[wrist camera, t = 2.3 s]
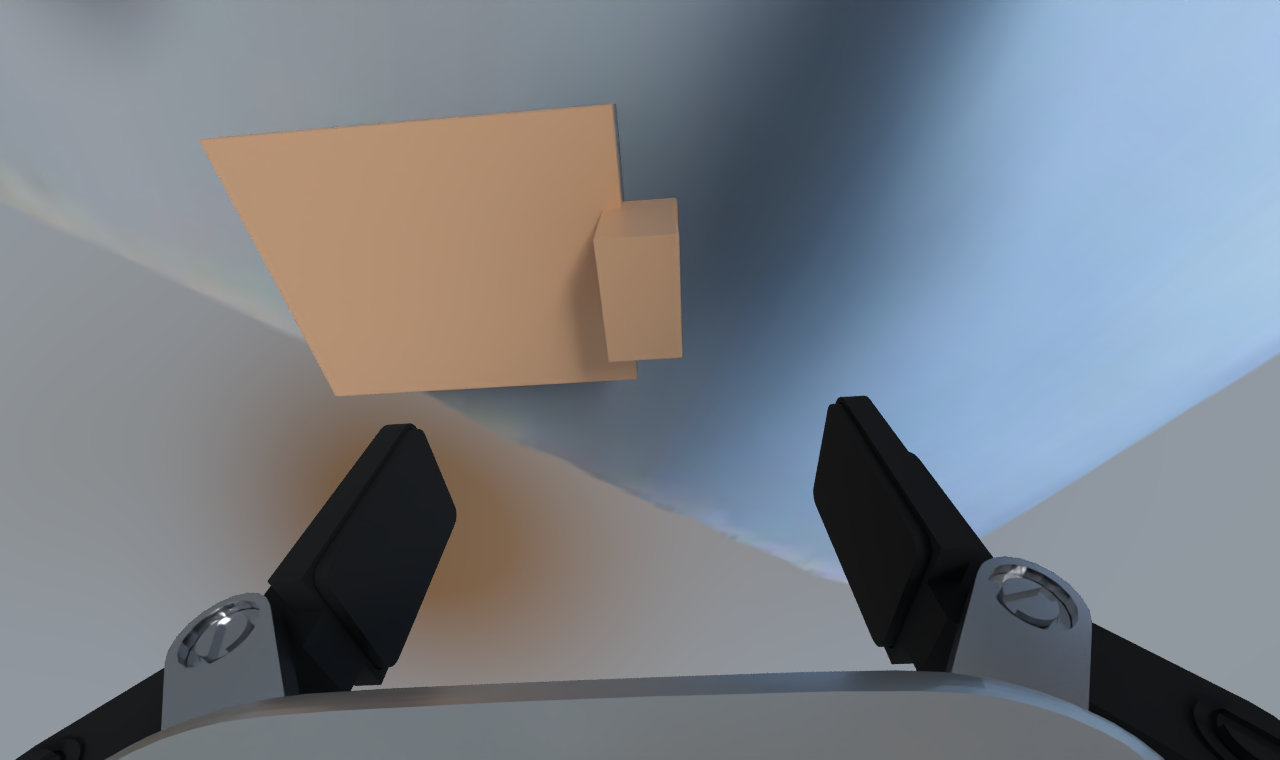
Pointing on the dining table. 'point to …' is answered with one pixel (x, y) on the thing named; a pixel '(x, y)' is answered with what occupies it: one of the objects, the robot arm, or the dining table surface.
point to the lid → (461, 249)
